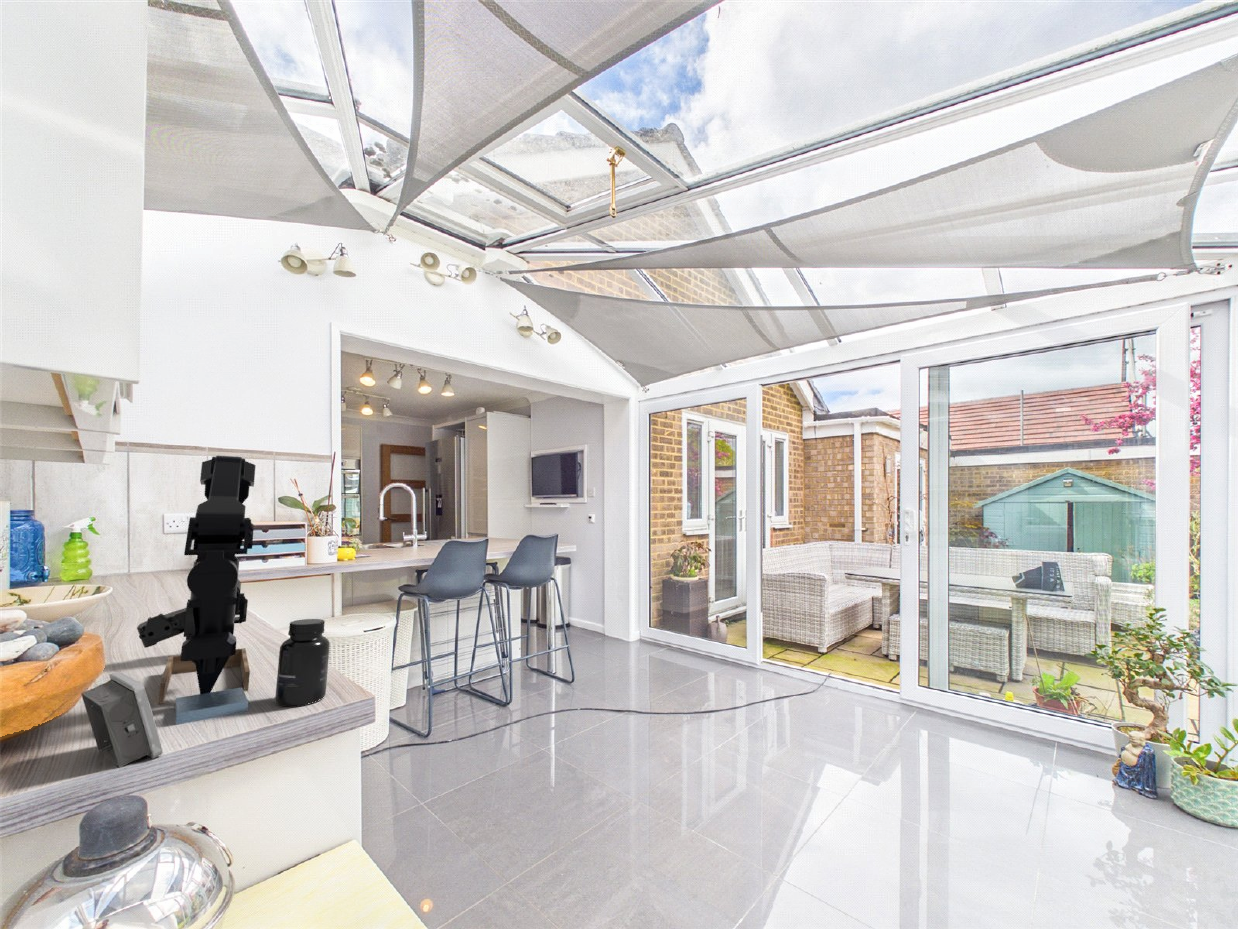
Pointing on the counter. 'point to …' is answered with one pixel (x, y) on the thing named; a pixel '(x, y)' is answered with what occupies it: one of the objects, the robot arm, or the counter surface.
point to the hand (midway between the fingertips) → (204, 694)
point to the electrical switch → (122, 720)
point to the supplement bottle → (303, 664)
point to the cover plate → (210, 705)
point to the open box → (188, 666)
